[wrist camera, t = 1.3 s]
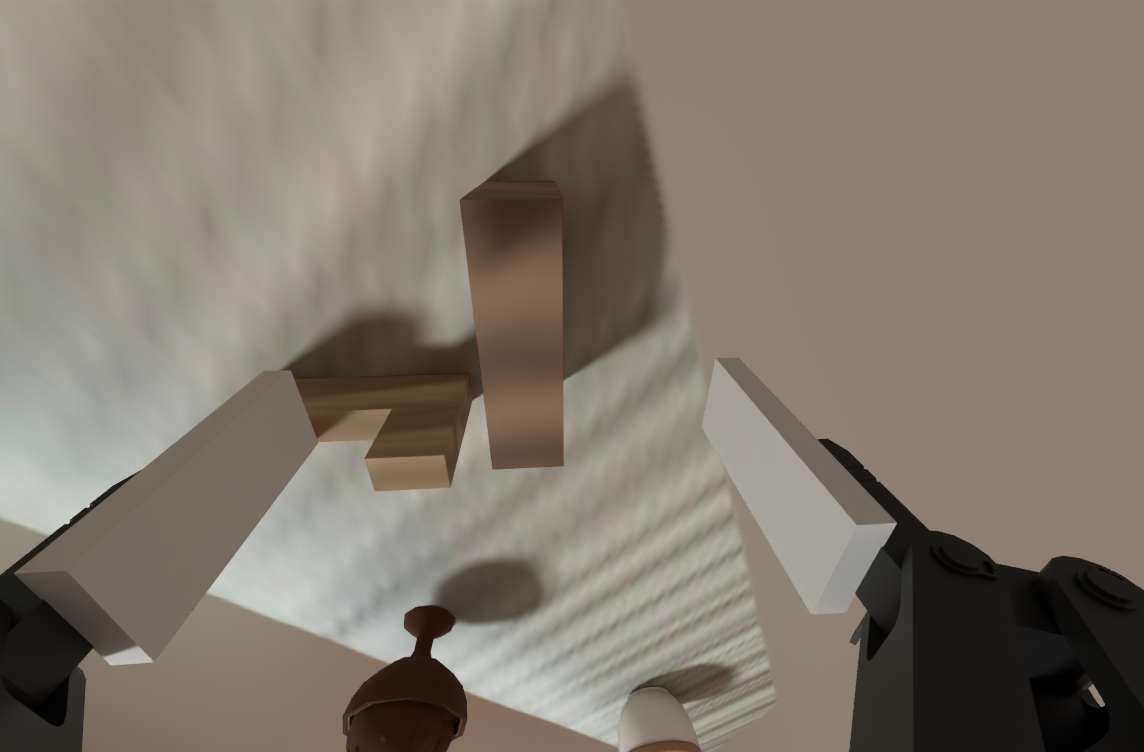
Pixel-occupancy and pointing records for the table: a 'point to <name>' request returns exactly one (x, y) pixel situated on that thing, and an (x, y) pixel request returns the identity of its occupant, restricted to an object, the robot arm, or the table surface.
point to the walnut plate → (518, 317)
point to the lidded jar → (655, 723)
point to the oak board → (394, 423)
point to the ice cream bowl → (409, 697)
